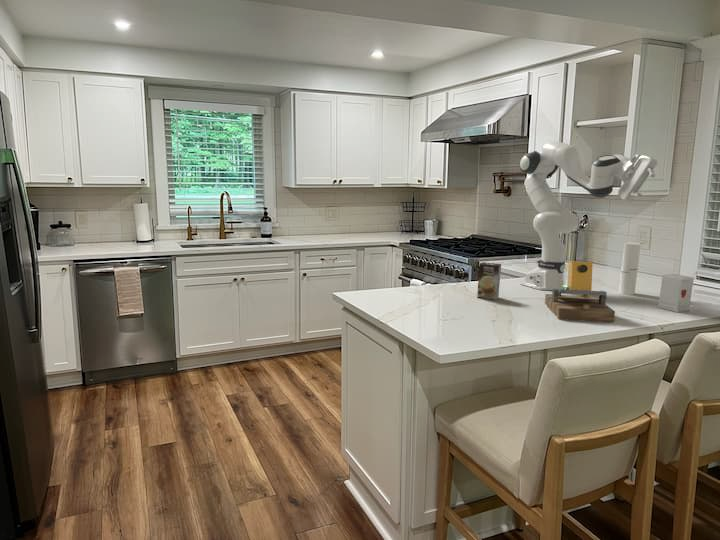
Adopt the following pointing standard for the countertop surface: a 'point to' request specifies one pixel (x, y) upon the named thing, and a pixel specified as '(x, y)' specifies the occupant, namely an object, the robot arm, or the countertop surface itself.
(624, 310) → the countertop surface
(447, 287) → the countertop surface
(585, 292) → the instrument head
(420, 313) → the countertop surface
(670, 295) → the supplement box
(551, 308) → the tribrach stand
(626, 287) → the cylindrical container
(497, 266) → the coffee box
